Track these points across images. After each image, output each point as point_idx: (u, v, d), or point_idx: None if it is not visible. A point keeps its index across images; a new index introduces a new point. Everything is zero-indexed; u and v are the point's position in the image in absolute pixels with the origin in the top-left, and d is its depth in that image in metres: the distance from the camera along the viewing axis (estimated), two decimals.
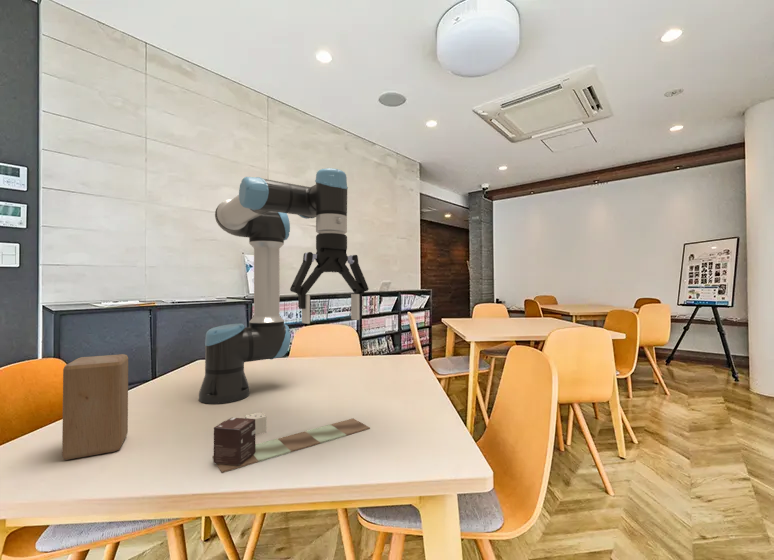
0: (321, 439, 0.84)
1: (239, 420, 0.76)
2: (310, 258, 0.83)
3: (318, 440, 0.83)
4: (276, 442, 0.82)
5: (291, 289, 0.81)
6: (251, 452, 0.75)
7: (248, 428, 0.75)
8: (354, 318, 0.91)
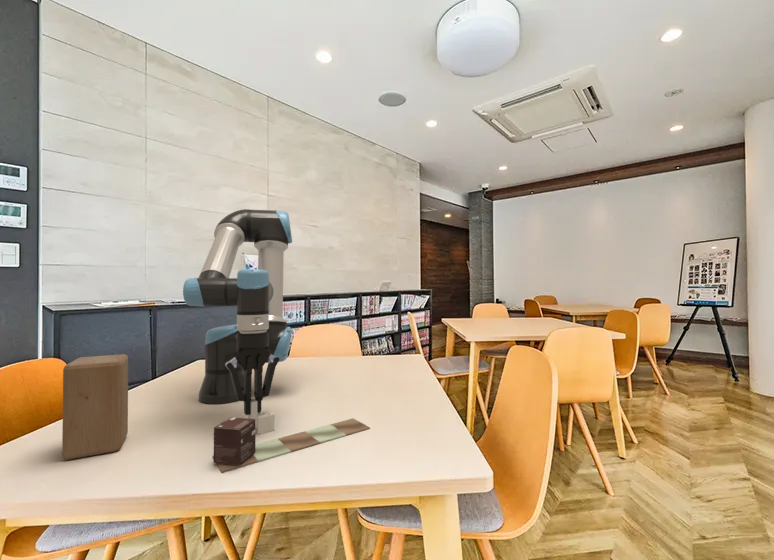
0: (321, 439, 0.84)
1: (239, 420, 0.76)
2: (232, 368, 0.85)
3: (318, 440, 0.83)
4: (276, 442, 0.82)
5: (236, 397, 0.87)
6: (251, 452, 0.75)
7: (248, 428, 0.75)
8: None
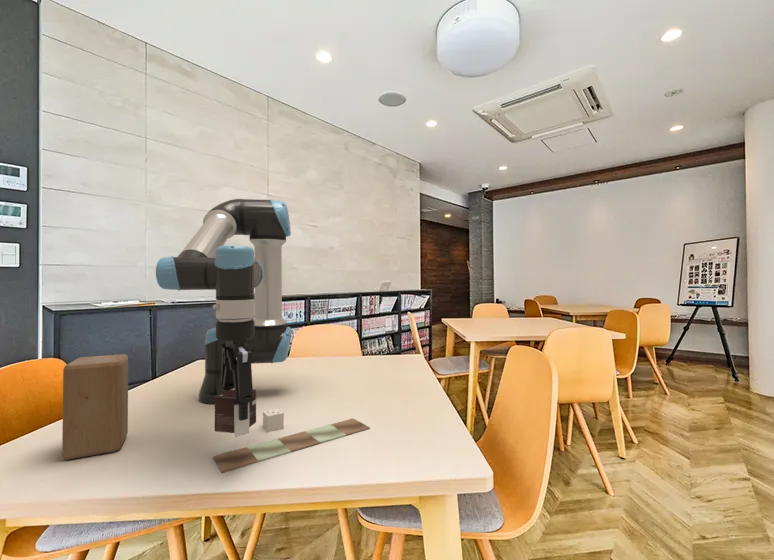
0: (321, 439, 0.84)
1: None
2: (222, 349, 0.79)
3: (318, 440, 0.83)
4: (276, 442, 0.82)
5: None
6: (252, 421, 0.76)
7: None
8: None
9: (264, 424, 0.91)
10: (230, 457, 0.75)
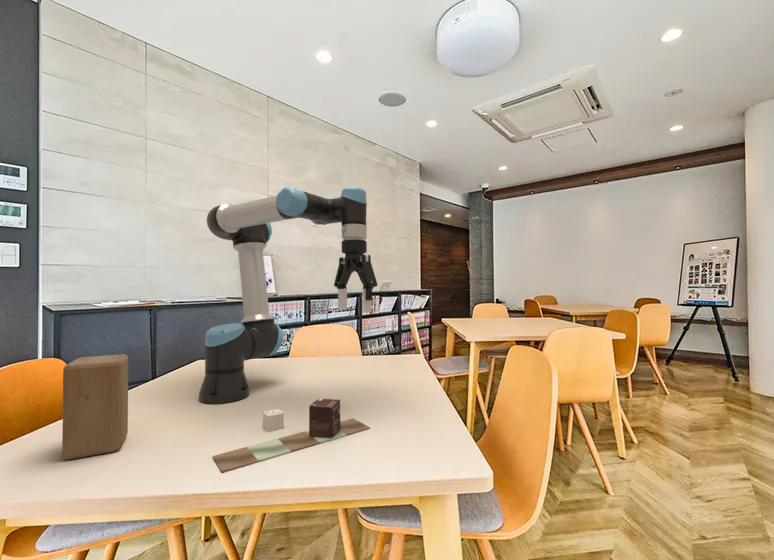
0: (321, 439, 0.84)
1: (326, 400, 0.89)
2: (340, 262, 1.12)
3: (318, 440, 0.83)
4: (276, 442, 0.82)
5: None
6: (338, 427, 0.88)
7: (337, 407, 0.87)
8: None
9: (264, 424, 0.91)
10: (230, 457, 0.75)
